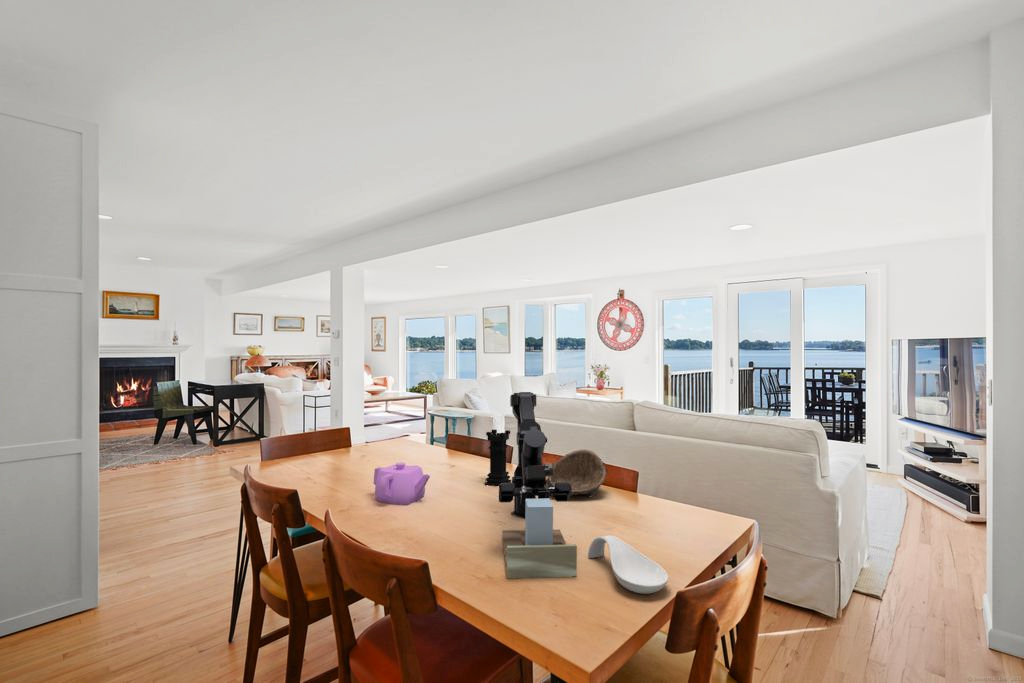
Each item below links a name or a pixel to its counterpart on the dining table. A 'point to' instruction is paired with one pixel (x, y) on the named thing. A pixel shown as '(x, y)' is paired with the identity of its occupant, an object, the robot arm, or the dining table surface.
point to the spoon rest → (630, 565)
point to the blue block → (538, 522)
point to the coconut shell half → (579, 472)
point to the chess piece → (497, 458)
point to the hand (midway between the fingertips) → (537, 523)
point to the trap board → (538, 557)
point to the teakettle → (399, 484)
